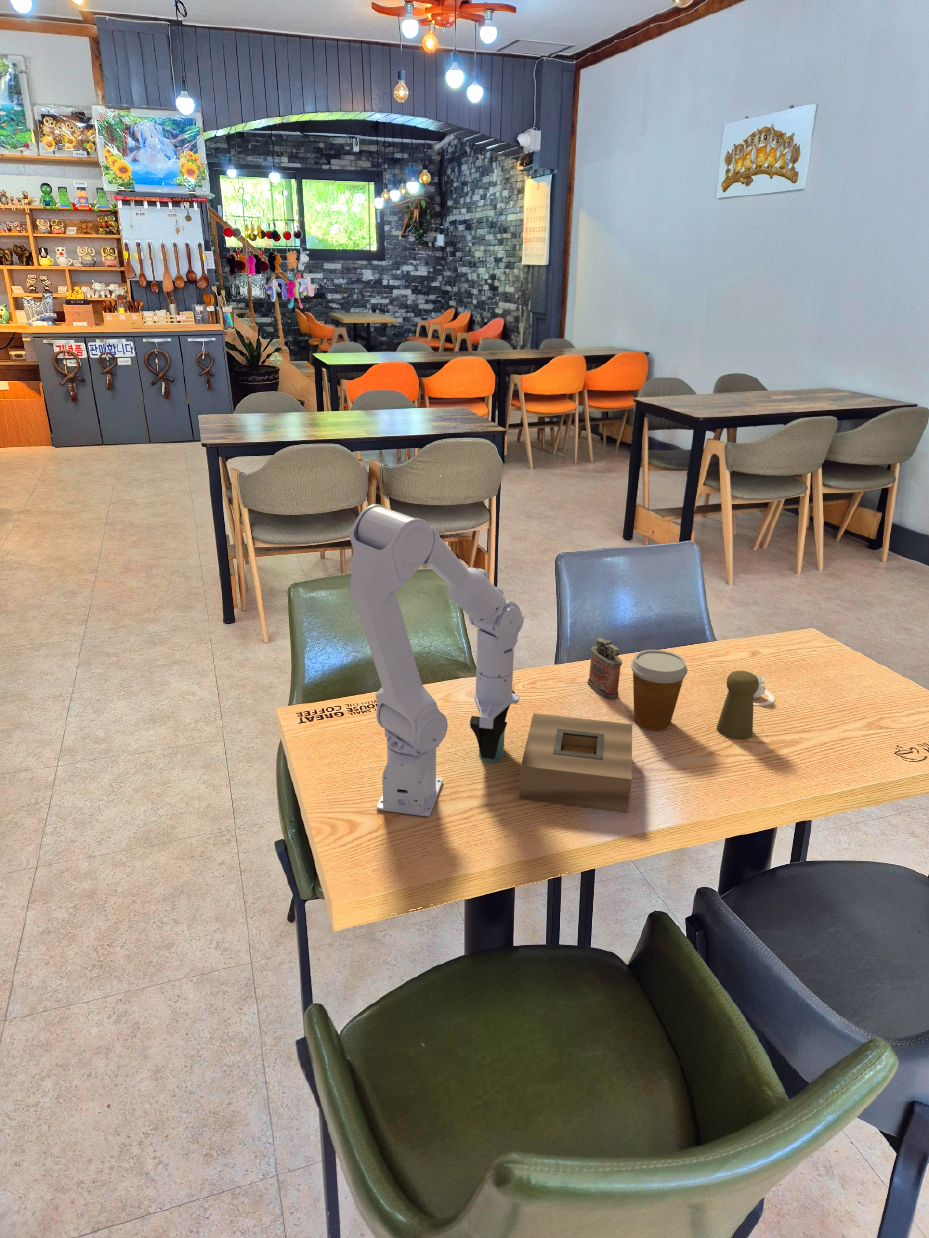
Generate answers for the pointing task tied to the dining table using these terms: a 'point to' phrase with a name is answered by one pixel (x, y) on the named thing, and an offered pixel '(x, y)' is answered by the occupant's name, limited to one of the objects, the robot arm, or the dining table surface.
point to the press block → (577, 763)
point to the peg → (499, 750)
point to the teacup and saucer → (762, 689)
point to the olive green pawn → (738, 706)
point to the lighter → (605, 669)
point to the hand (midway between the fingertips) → (491, 744)
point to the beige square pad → (578, 749)
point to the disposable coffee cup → (656, 687)
